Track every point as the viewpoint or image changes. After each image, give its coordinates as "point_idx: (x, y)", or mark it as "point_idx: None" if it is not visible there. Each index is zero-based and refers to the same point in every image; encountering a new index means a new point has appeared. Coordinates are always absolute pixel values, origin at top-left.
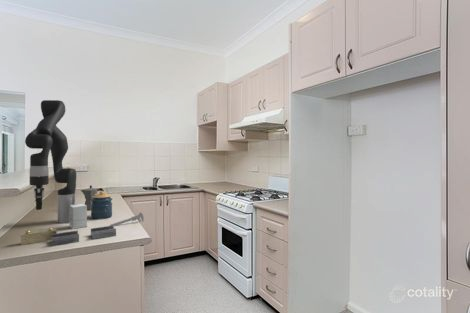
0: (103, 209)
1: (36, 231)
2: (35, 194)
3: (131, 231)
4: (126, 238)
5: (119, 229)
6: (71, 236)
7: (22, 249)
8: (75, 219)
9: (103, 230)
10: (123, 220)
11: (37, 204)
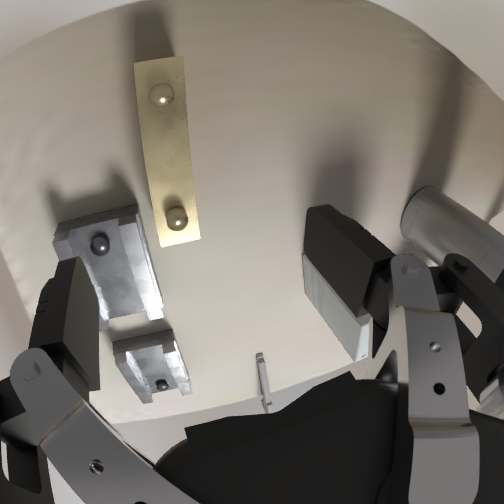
0: None
1: (178, 140)
2: (87, 496)
3: (170, 403)
4: (104, 401)
5: (206, 381)
6: None
7: (49, 101)
8: (324, 289)
9: (132, 384)
10: (266, 388)
11: (35, 333)
